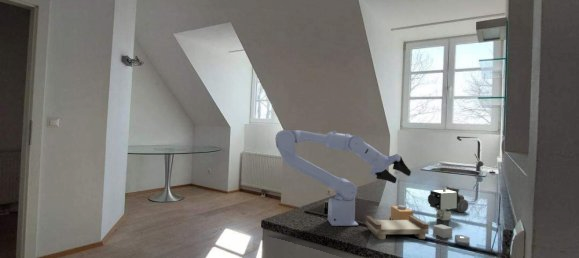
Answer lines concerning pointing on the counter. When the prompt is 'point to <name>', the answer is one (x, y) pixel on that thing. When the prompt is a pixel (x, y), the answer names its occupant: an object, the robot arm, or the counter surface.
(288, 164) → the robot arm
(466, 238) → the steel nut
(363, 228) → the counter surface
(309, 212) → the counter surface
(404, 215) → the housing
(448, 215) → the pneumatic valve
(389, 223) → the stand
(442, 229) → the rubber block
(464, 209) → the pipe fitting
